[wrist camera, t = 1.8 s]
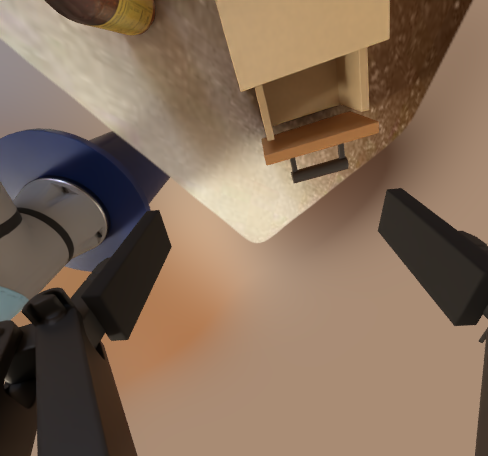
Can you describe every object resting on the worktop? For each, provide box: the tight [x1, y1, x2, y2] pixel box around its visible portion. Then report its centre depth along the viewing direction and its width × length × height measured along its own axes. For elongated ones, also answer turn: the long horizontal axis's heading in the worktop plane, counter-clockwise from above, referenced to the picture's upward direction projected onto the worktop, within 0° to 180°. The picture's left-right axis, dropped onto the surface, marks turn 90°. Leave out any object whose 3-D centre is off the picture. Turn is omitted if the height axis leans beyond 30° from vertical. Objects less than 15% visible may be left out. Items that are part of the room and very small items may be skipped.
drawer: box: [254, 47, 379, 183], centre depth 28 cm, size 19×13×9 cm, turn 17°
